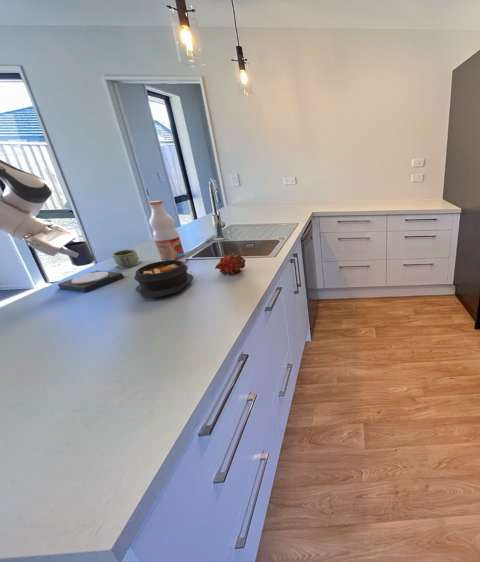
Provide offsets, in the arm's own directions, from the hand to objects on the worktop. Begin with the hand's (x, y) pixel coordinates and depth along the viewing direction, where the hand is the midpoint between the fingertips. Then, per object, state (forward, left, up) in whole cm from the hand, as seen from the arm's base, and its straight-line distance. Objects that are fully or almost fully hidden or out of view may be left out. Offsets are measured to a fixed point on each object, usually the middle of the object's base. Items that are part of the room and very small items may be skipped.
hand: (81, 252), depth 114 cm
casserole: (+33, +3, -13) cm, 35 cm away
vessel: (-6, +18, -13) cm, 23 cm away
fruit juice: (+13, +25, -13) cm, 31 cm away
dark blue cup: (0, 0, -4) cm, 4 cm away
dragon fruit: (+48, +21, -13) cm, 54 cm away
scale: (0, -1, -13) cm, 13 cm away
